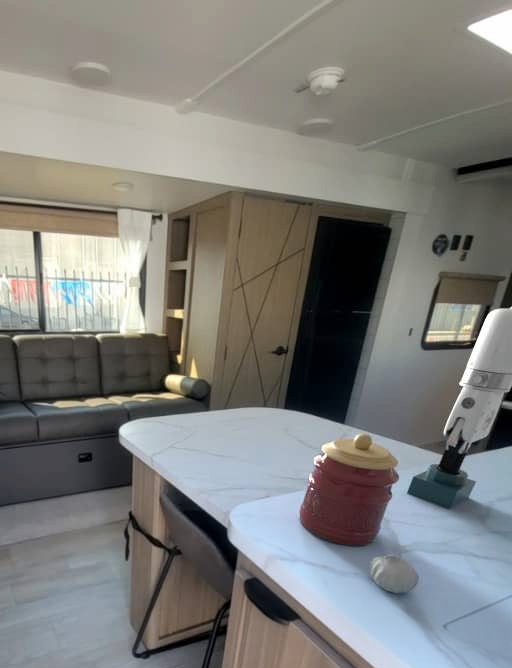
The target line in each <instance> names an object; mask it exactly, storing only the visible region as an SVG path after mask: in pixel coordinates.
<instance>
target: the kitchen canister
mask: <svg viewBox="0 0 512 668" xmlns="http://www.w3.org/2000/svg"><path fill="white" fill-rule="evenodd" d="M321 451H322V453H321V452H320V453H319V454H317V455H314V457H313V459H312V463H313V465H314V468H313V471H312V472H310V473H309V475H308V482H307V486H306V490H305V493H304V497H303V501H302V503H301V505H300V508H299V521H300V523H301V525H302V526H303V527H304V528H305V529H306V530H307V531H308V532H309V533H311V534H313V535H315V536H317V537H318V538H320V539H323V540H325V541H327V542H331V543H334V544H339V545H343V546H352V547H357V546H366V545H368V544H371V543H372V542H374V541H375V538H376V537H377V536H378V535H379V533H380V530H381V526H382V525H381V524H382V522H383V519H384V516H385V513H386V511H387V508H388V505H389V503H390V501H391V500H392V498H393V492H392V489H393V488H392V487H393V485H394V484H396V483H397V482H399V480H400V475H399V473H398V472H397V470H396V469H395V468H396V467H397V466H398V465H399V461H398V459H397V458H396V457H395V456H394V455H392V453H391V451H389V450H388V448H385V447H383V446H381V445H380V444H376V443H373V439H372V436H371V435H369V434H368V433H359V434H357V435H356V436H354V438H352V439H351V438H338V439H336V440H333V441H331V442H328V443H325V444H323V445H322V446H321Z"/></svg>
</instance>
